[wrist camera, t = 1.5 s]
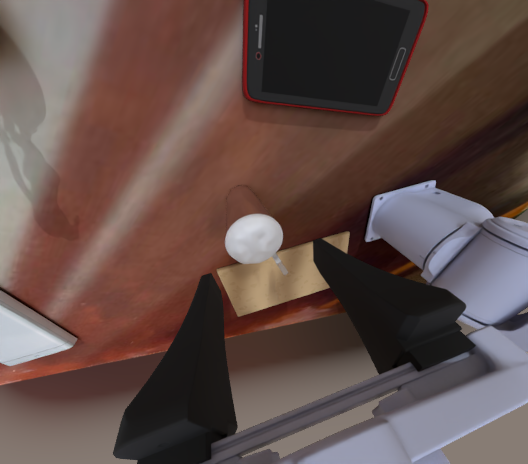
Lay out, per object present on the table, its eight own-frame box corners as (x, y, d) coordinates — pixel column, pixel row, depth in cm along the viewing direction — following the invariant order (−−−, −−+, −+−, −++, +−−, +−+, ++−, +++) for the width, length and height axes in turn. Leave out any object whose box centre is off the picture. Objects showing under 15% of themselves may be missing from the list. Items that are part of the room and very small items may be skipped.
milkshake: (246, 226, 23) (265, 291, 15) (211, 200, 20) (212, 263, 12) (273, 201, 22) (308, 256, 14) (240, 169, 19) (262, 216, 11)
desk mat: (347, 230, 28) (349, 232, 27) (341, 281, 35) (342, 283, 35) (216, 269, 26) (216, 271, 26) (237, 314, 33) (238, 317, 33)
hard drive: (-119, 319, 18) (6, 368, 25) (-21, 295, 18) (72, 349, 26) (-96, 304, 19) (16, 355, 26) (-6, 282, 20) (78, 337, 27)
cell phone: (381, 116, 19) (389, 117, 19) (241, 101, 16) (242, 100, 15) (422, 5, 15) (434, 0, 14) (243, -50, 12) (246, -61, 11)
